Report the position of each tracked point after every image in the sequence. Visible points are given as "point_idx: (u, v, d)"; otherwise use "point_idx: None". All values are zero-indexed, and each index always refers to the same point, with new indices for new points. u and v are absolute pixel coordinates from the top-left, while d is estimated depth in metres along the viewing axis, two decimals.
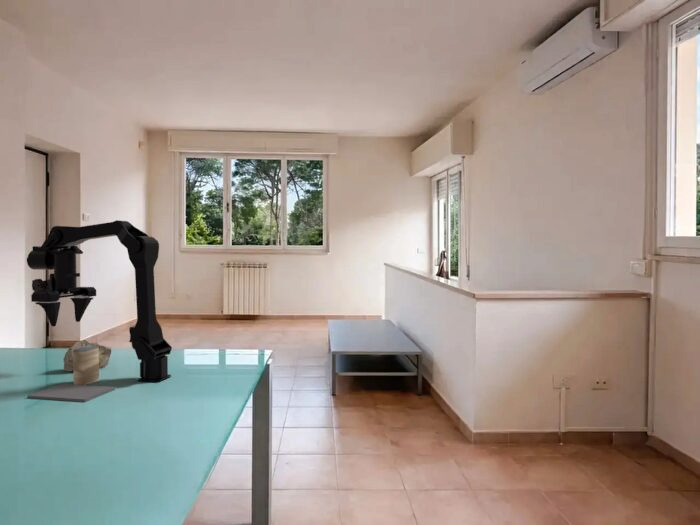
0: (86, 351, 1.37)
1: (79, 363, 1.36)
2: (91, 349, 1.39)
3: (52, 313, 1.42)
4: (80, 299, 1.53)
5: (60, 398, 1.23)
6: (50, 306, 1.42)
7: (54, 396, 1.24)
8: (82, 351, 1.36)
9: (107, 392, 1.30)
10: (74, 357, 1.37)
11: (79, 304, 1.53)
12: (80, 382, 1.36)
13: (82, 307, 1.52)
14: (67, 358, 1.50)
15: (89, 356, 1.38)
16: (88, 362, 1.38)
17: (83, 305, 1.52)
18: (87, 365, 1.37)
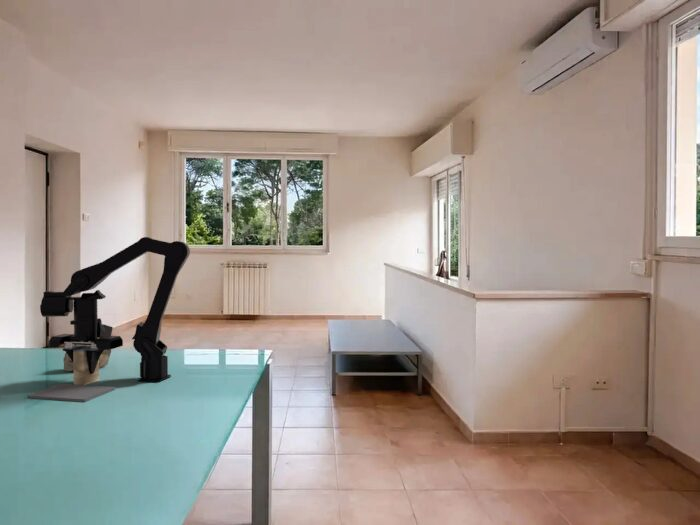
0: None
1: (79, 363, 1.36)
2: None
3: None
4: None
5: (60, 398, 1.23)
6: None
7: (54, 396, 1.24)
8: (82, 351, 1.36)
9: (107, 392, 1.30)
10: (74, 357, 1.37)
11: None
12: (80, 381, 1.36)
13: None
14: (67, 358, 1.50)
15: None
16: None
17: None
18: (87, 365, 1.37)
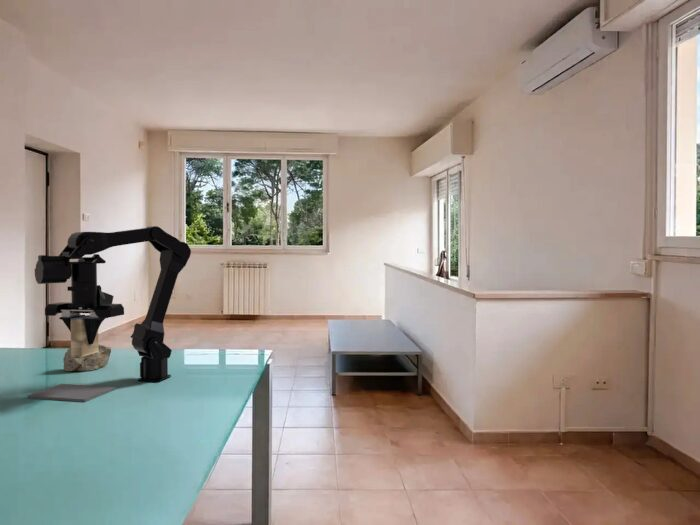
0: None
1: (77, 333, 1.26)
2: None
3: None
4: None
5: (60, 398, 1.23)
6: None
7: (54, 396, 1.24)
8: (80, 319, 1.26)
9: (107, 392, 1.30)
10: (71, 326, 1.26)
11: None
12: (78, 352, 1.26)
13: None
14: (67, 358, 1.50)
15: None
16: None
17: None
18: (85, 335, 1.27)
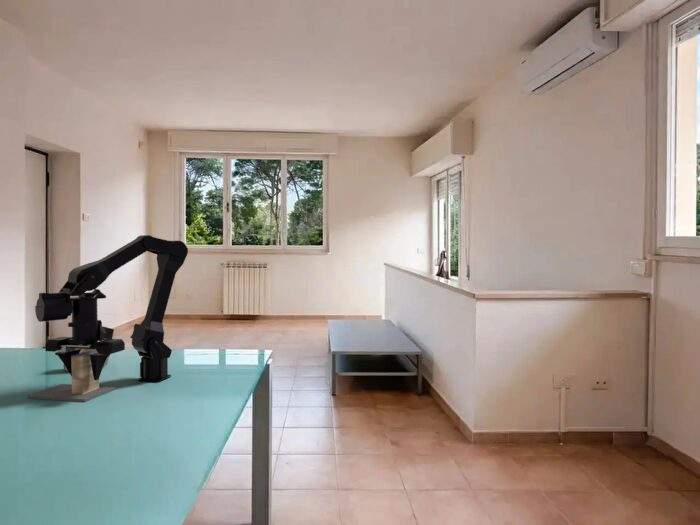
0: (85, 357, 1.27)
1: (78, 370, 1.26)
2: None
3: None
4: None
5: (60, 398, 1.23)
6: None
7: (54, 396, 1.24)
8: (81, 357, 1.26)
9: (107, 392, 1.30)
10: (72, 363, 1.26)
11: None
12: (79, 390, 1.26)
13: None
14: None
15: (89, 362, 1.28)
16: (87, 369, 1.28)
17: None
18: (86, 372, 1.27)
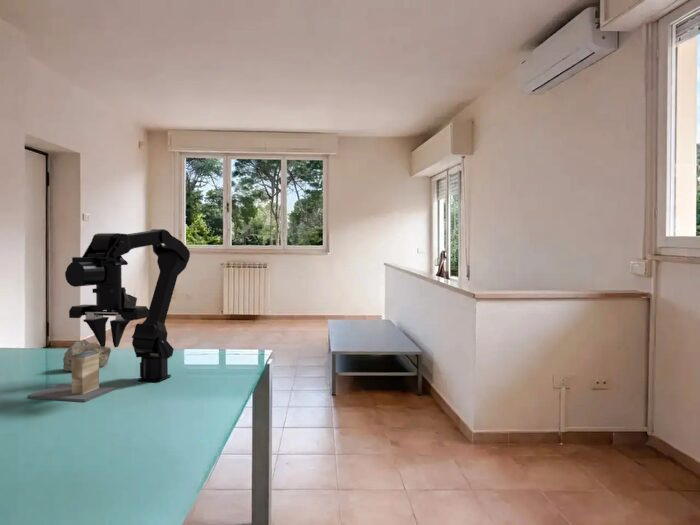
0: (85, 357, 1.27)
1: (78, 370, 1.26)
2: (91, 355, 1.29)
3: None
4: None
5: (60, 398, 1.23)
6: None
7: (54, 396, 1.24)
8: (81, 357, 1.26)
9: (107, 392, 1.30)
10: (72, 363, 1.26)
11: None
12: (79, 390, 1.26)
13: None
14: (67, 358, 1.50)
15: (89, 362, 1.28)
16: (87, 369, 1.28)
17: None
18: (86, 372, 1.27)
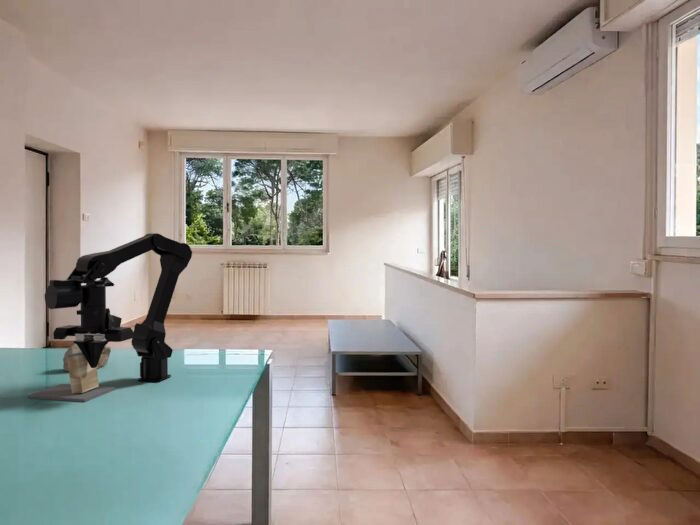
0: (81, 355, 1.27)
1: (75, 369, 1.26)
2: None
3: None
4: None
5: (60, 398, 1.23)
6: None
7: (54, 396, 1.24)
8: (76, 355, 1.26)
9: (107, 392, 1.30)
10: (69, 363, 1.26)
11: None
12: (78, 389, 1.26)
13: None
14: None
15: (85, 360, 1.28)
16: (84, 367, 1.28)
17: None
18: (83, 370, 1.27)
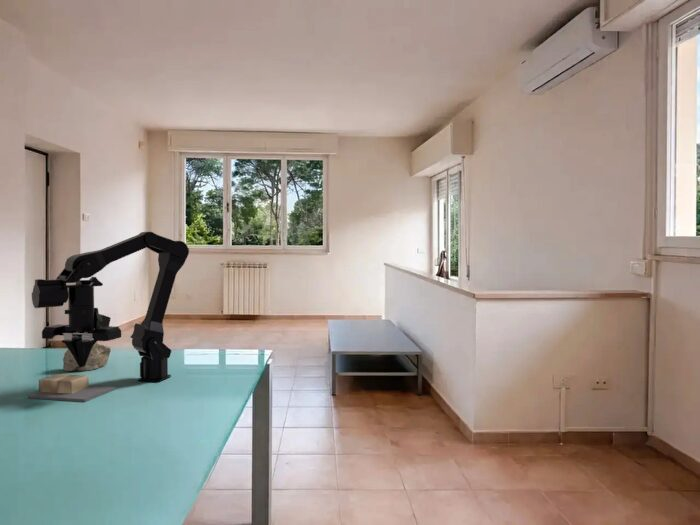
0: (44, 378, 1.29)
1: (51, 384, 1.28)
2: (49, 376, 1.31)
3: None
4: None
5: (60, 398, 1.23)
6: None
7: (54, 396, 1.24)
8: (39, 380, 1.28)
9: (107, 392, 1.30)
10: (45, 390, 1.28)
11: None
12: (68, 385, 1.27)
13: None
14: (67, 358, 1.50)
15: (53, 377, 1.30)
16: (57, 378, 1.29)
17: None
18: (58, 379, 1.29)
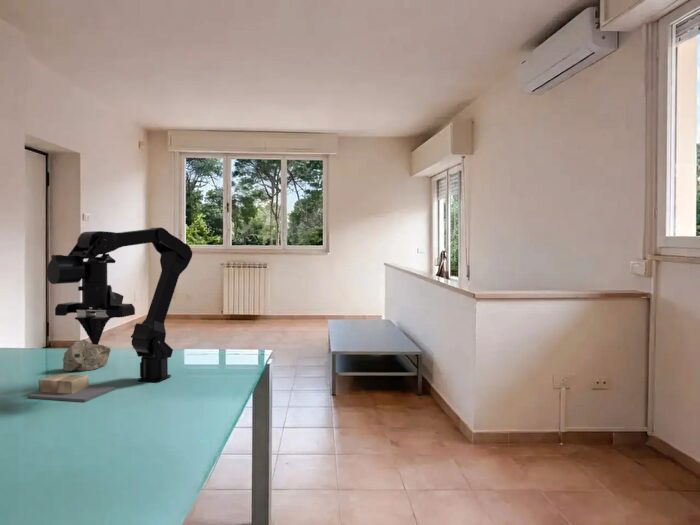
0: (44, 378, 1.29)
1: (51, 384, 1.28)
2: (49, 376, 1.31)
3: None
4: None
5: (60, 398, 1.23)
6: None
7: (54, 396, 1.24)
8: (39, 380, 1.28)
9: (107, 392, 1.30)
10: (45, 390, 1.28)
11: None
12: (68, 385, 1.27)
13: None
14: (67, 358, 1.50)
15: (53, 377, 1.30)
16: (57, 378, 1.29)
17: None
18: (58, 379, 1.29)
